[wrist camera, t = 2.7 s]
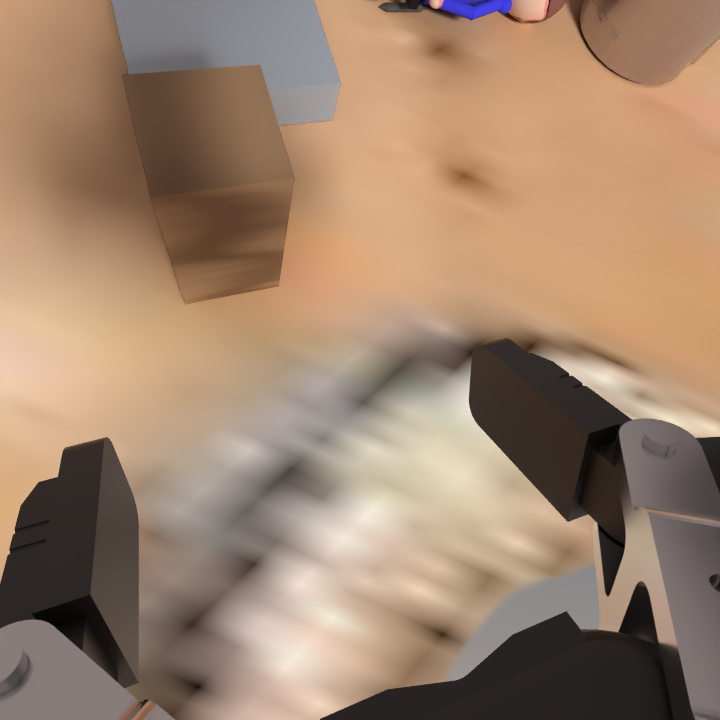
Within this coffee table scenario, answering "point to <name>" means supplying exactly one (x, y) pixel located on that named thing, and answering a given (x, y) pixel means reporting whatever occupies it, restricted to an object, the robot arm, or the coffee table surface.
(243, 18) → the blue-grey square slab
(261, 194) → the walnut block
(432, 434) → the coffee table surface
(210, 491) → the coffee table surface
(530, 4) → the figurine character
